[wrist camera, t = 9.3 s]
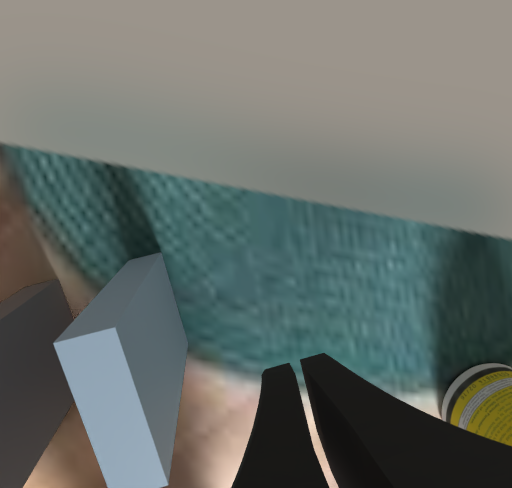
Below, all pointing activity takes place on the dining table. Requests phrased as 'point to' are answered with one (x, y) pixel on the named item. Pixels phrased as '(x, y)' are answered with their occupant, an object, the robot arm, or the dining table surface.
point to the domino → (31, 377)
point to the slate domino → (129, 373)
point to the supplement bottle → (482, 402)
